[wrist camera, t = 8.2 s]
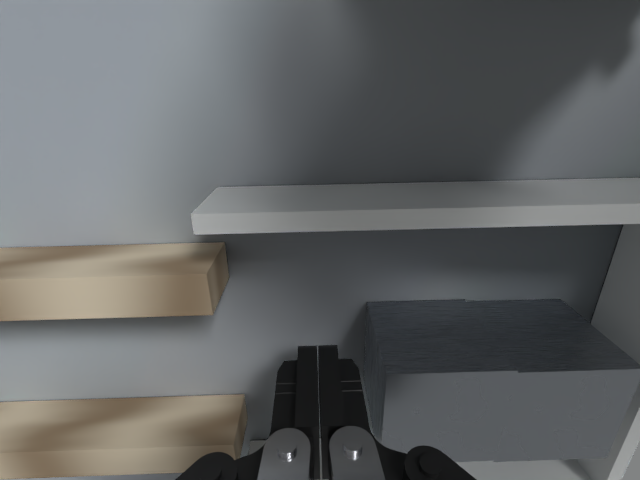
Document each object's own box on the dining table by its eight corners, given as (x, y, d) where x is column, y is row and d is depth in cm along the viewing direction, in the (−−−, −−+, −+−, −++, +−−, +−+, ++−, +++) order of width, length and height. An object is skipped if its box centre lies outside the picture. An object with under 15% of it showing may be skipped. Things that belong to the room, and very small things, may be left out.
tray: (655, 177, 13) (752, 200, 10) (564, 438, 18) (610, 502, 15) (217, 186, 12) (190, 214, 10) (251, 449, 17) (240, 516, 15)
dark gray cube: (560, 299, 15) (644, 368, 11) (538, 374, 16) (606, 458, 12) (463, 301, 14) (516, 372, 11) (451, 377, 16) (493, 462, 12)
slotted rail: (224, 242, 13) (206, 274, 11) (247, 418, 17) (237, 470, 14) (-160, 251, 13) (-262, 286, 11) (-56, 428, 16) (-115, 483, 14)
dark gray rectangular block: (464, 299, 14) (518, 370, 11) (451, 375, 16) (494, 460, 12) (367, 302, 14) (386, 374, 11) (363, 378, 16) (379, 464, 12)
